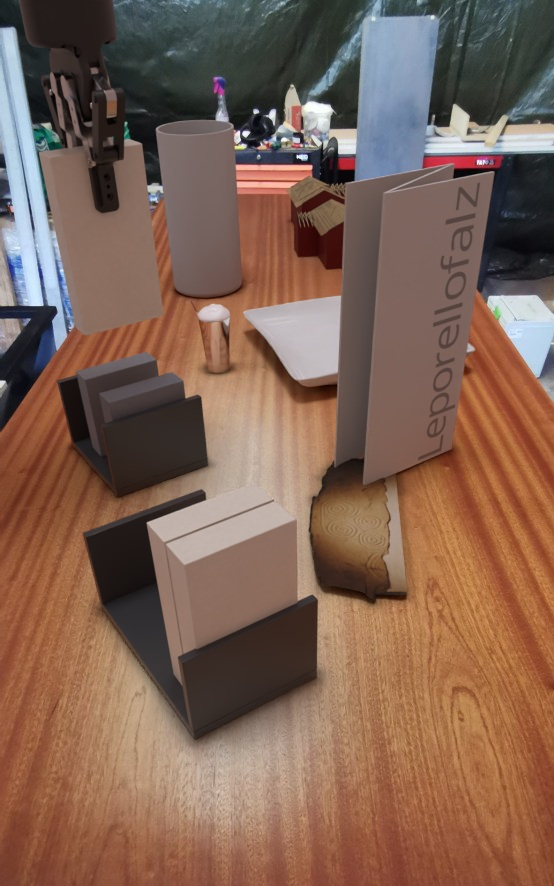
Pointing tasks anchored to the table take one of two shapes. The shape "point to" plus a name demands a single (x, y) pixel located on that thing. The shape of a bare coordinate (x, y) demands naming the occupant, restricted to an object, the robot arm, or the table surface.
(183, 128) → the cylinder vase
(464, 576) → the table surface
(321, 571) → the parchment
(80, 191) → the white book
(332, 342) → the square plate
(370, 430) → the brochure
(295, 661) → the book holder
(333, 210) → the toy houses
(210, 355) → the milkshake
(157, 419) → the grey rack
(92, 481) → the table surface
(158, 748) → the table surface
